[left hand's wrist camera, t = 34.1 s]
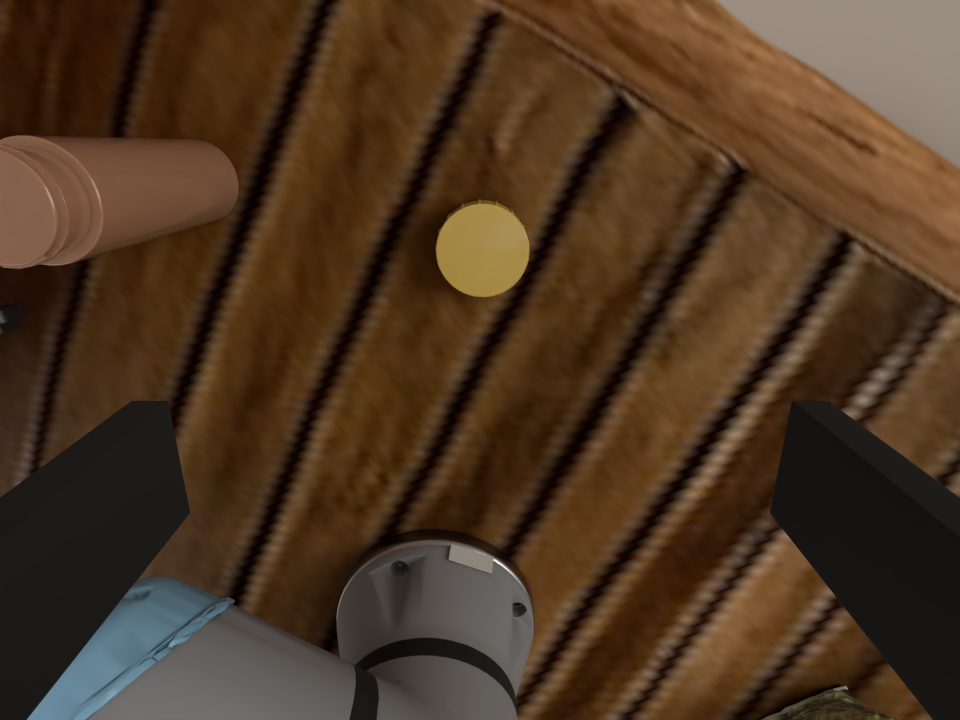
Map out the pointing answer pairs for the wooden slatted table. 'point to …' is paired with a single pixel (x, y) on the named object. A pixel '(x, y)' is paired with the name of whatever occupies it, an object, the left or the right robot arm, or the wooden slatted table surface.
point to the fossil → (829, 708)
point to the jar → (104, 194)
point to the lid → (482, 248)
